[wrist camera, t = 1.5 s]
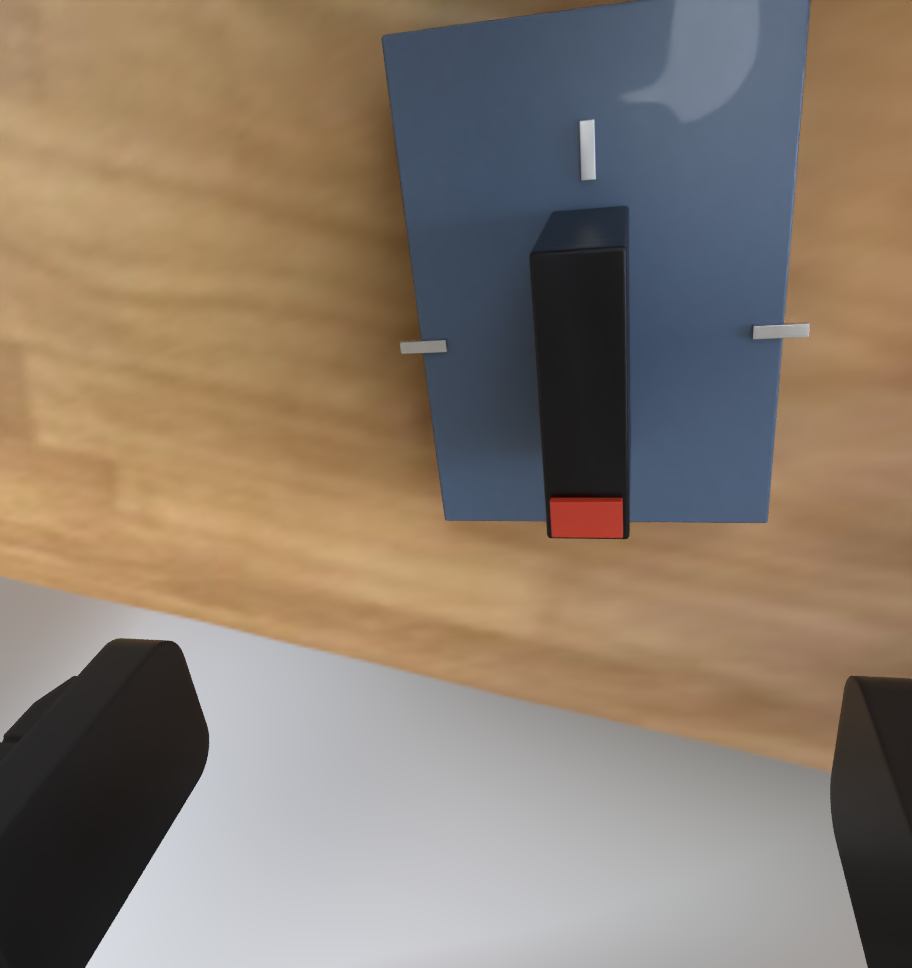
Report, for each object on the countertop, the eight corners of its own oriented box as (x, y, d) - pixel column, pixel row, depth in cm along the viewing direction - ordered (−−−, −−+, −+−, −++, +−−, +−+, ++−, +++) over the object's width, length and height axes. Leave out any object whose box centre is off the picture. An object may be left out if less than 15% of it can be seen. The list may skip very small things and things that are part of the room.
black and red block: (550, 211, 21) (527, 255, 16) (629, 205, 20) (626, 248, 16) (563, 451, 24) (545, 544, 20) (630, 451, 24) (629, 545, 19)
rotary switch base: (389, 40, 22) (354, 38, 20) (816, -18, 20) (844, -29, 17) (445, 479, 29) (425, 523, 26) (774, 477, 26) (790, 526, 24)
